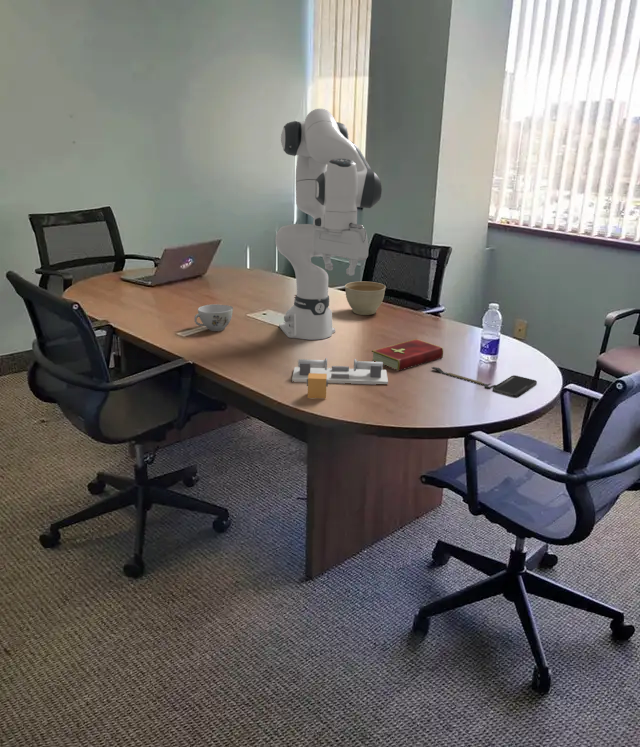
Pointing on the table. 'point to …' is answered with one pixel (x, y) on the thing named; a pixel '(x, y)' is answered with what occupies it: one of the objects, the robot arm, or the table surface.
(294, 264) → the robot arm
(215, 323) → the teacup
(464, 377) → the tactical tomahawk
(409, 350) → the hardcover book
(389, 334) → the table surface
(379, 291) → the planter bowl
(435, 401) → the table surface
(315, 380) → the block
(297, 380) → the shaft rig
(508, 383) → the phone
